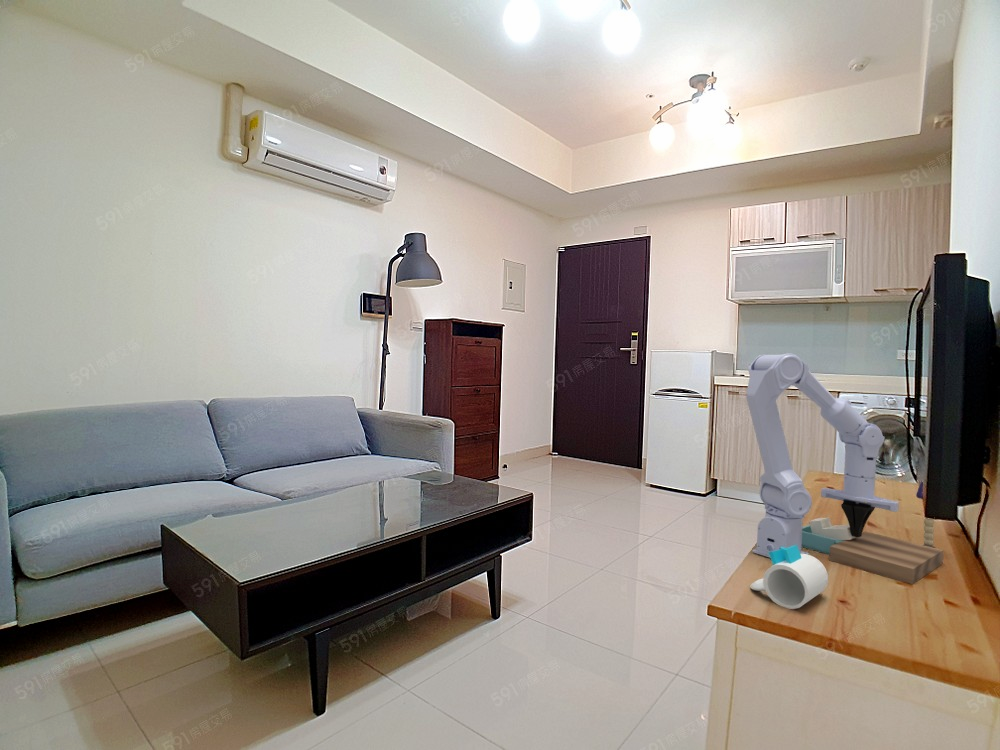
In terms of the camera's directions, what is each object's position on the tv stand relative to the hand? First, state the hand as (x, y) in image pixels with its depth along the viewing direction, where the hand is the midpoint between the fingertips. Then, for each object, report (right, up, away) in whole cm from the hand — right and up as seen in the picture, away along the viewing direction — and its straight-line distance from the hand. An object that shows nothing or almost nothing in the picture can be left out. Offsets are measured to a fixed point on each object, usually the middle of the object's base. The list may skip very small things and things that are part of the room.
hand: (856, 536), depth 117 cm
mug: (-28, -4, -23) cm, 36 cm away
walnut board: (+3, -4, -5) cm, 7 cm away
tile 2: (-2, -1, +2) cm, 3 cm away
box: (-4, -4, +5) cm, 7 cm away
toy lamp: (+17, -5, +2) cm, 18 cm away
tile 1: (-4, 0, +5) cm, 6 cm away
